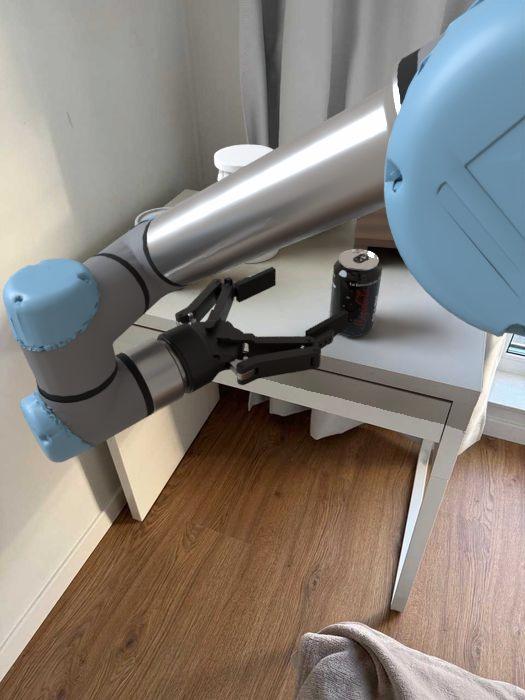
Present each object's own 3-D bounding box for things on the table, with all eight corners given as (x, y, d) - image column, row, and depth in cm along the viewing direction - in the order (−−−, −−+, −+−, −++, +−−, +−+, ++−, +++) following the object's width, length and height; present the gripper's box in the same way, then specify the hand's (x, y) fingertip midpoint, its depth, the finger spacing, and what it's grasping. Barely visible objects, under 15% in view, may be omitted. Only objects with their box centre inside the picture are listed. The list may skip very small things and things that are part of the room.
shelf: (442, 274, 88) (449, 244, 84) (351, 267, 91) (354, 237, 87) (435, 229, 102) (441, 201, 98) (356, 223, 104) (359, 196, 100)
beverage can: (382, 327, 77) (393, 258, 69) (353, 346, 73) (362, 277, 66) (348, 308, 81) (355, 242, 73) (319, 326, 77) (324, 258, 70)
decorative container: (207, 247, 97) (198, 154, 86) (252, 229, 103) (249, 139, 92) (245, 270, 91) (240, 172, 79) (291, 249, 96) (293, 154, 85)
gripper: (124, 339, 66) (249, 282, 76) (239, 455, 51) (376, 365, 61) (112, 291, 61) (248, 237, 71) (235, 404, 46) (384, 315, 56)
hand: (307, 296), depth 66 cm, fingers open, 13 cm apart
